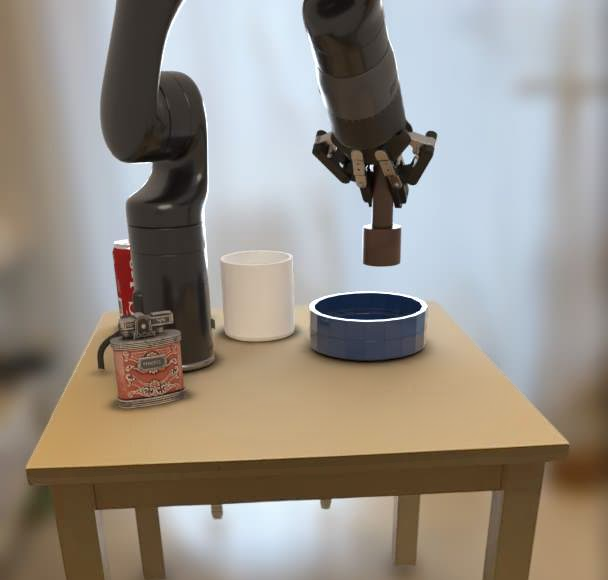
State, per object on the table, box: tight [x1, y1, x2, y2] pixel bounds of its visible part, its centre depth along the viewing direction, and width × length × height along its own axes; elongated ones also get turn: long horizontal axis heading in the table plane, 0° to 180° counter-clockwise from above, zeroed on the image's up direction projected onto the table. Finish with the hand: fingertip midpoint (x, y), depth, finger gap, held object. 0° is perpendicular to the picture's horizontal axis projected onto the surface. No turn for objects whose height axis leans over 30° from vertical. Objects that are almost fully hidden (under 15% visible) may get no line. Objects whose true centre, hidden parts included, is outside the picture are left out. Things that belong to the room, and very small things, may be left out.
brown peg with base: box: [361, 164, 403, 268], centre depth 99 cm, size 4×4×14 cm
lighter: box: [109, 311, 187, 409], centre depth 100 cm, size 8×3×10 cm, turn 117°
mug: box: [219, 249, 296, 342], centre depth 125 cm, size 13×10×10 cm
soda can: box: [111, 238, 134, 319], centre depth 127 cm, size 5×5×12 cm
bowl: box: [308, 291, 429, 362], centre depth 118 cm, size 15×15×6 cm
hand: (386, 200), depth 101 cm, fingers closed on brown peg with base, 2 cm apart
